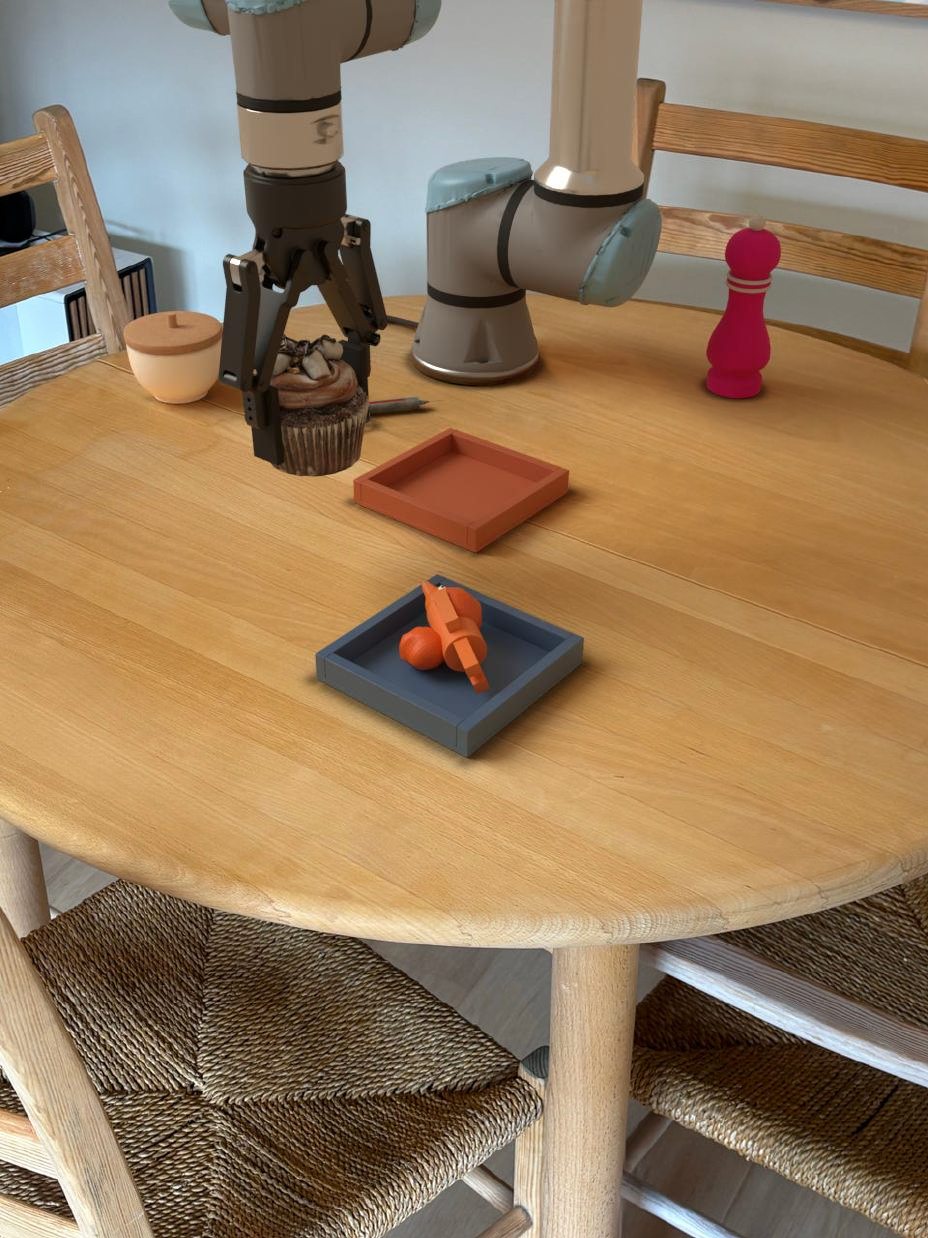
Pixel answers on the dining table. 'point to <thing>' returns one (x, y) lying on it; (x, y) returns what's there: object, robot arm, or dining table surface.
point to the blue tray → (450, 670)
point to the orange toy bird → (448, 635)
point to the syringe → (395, 405)
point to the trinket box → (175, 354)
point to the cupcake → (318, 407)
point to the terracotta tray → (461, 488)
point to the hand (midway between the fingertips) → (313, 436)
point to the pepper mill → (744, 314)
